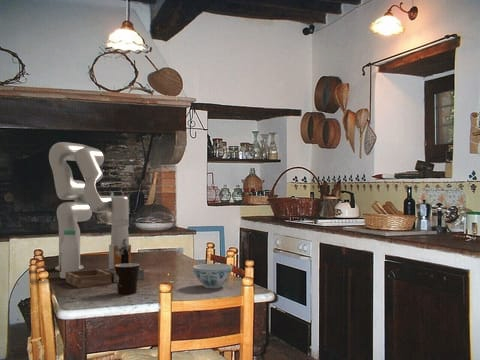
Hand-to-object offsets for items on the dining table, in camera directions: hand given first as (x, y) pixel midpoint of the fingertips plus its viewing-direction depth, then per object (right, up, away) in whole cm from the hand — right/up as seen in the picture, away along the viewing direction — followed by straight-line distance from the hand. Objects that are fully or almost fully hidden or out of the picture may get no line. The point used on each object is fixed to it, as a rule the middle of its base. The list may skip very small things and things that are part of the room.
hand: (120, 262), depth 221 cm
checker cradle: (+5, -5, -14) cm, 15 cm away
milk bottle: (-20, -5, -9) cm, 22 cm away
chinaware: (+43, -4, -31) cm, 53 cm away
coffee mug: (+13, -4, -44) cm, 46 cm away
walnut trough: (-8, -5, -22) cm, 24 cm away
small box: (0, -5, 0) cm, 5 cm away
